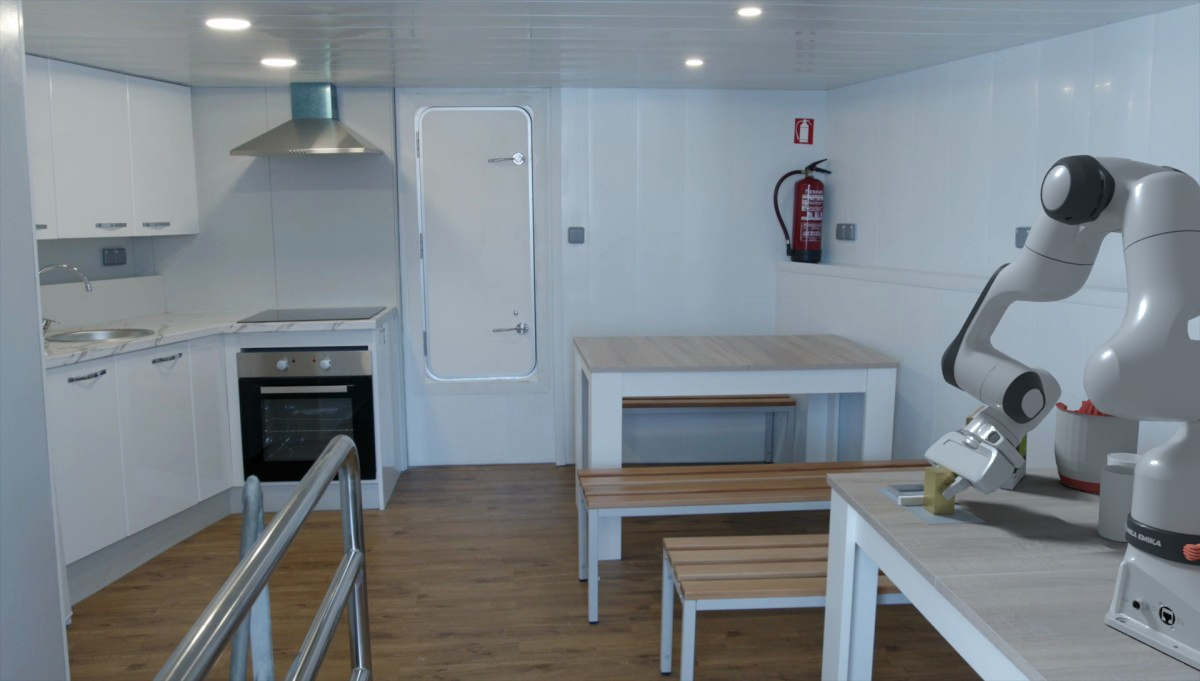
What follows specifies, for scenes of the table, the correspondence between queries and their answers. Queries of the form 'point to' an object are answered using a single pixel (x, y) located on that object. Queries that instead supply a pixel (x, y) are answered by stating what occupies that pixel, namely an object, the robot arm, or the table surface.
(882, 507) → the table surface
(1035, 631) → the table surface
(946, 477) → the block
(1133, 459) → the white cup
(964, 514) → the plate
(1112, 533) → the mug
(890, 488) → the frame
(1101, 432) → the citrus juicer
